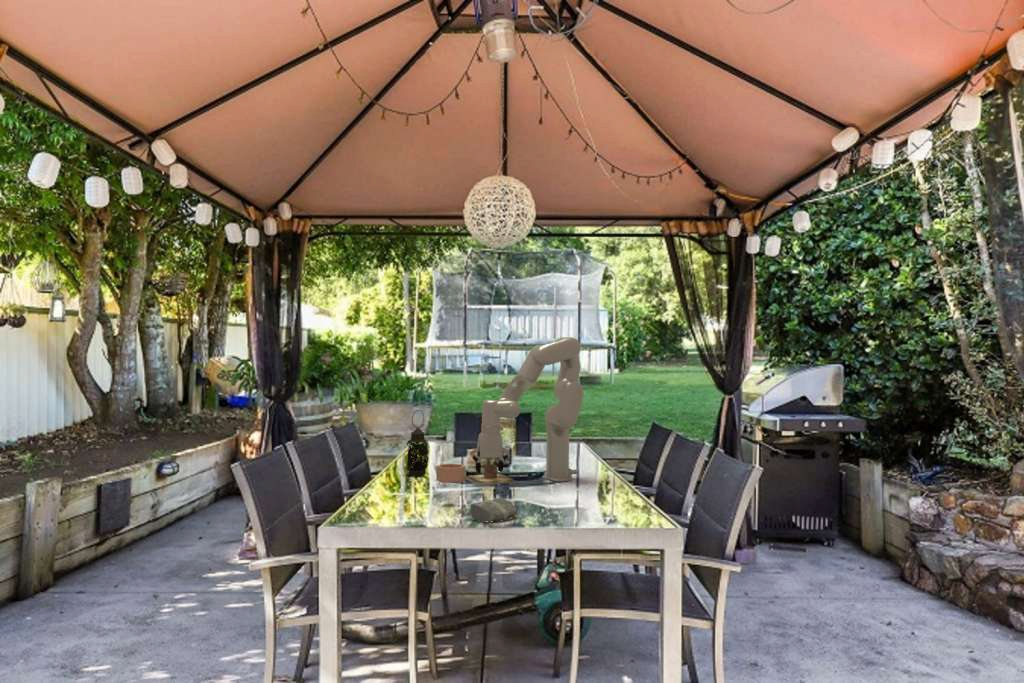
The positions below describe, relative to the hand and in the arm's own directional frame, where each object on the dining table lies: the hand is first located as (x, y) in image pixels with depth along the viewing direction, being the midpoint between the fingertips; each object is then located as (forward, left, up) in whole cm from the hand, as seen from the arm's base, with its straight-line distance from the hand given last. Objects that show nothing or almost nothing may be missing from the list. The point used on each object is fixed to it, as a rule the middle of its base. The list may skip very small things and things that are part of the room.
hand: (489, 471), depth 296 cm
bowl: (+14, -6, -4) cm, 16 cm away
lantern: (+22, -26, -5) cm, 35 cm away
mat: (-1, 0, -4) cm, 4 cm away
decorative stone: (+23, +59, -5) cm, 63 cm away
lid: (-1, 0, -3) cm, 3 cm away
